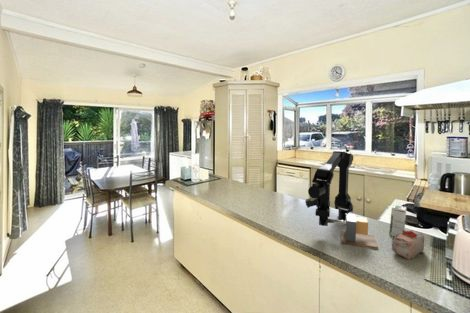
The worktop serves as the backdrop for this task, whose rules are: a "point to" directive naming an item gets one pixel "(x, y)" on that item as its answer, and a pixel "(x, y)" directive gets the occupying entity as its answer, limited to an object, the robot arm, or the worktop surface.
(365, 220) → the block
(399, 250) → the food item
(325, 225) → the shaft
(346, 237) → the stand
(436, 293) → the worktop surface
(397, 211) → the syrup box
